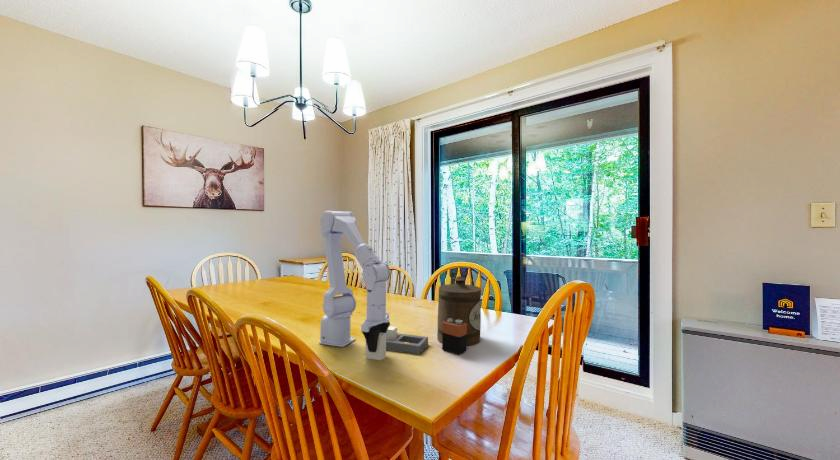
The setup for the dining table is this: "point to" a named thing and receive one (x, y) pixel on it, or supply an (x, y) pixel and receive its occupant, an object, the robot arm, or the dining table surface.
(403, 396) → the dining table surface
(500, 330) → the dining table surface
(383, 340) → the plug
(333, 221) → the robot arm
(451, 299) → the wooden container
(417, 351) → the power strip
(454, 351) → the battery
